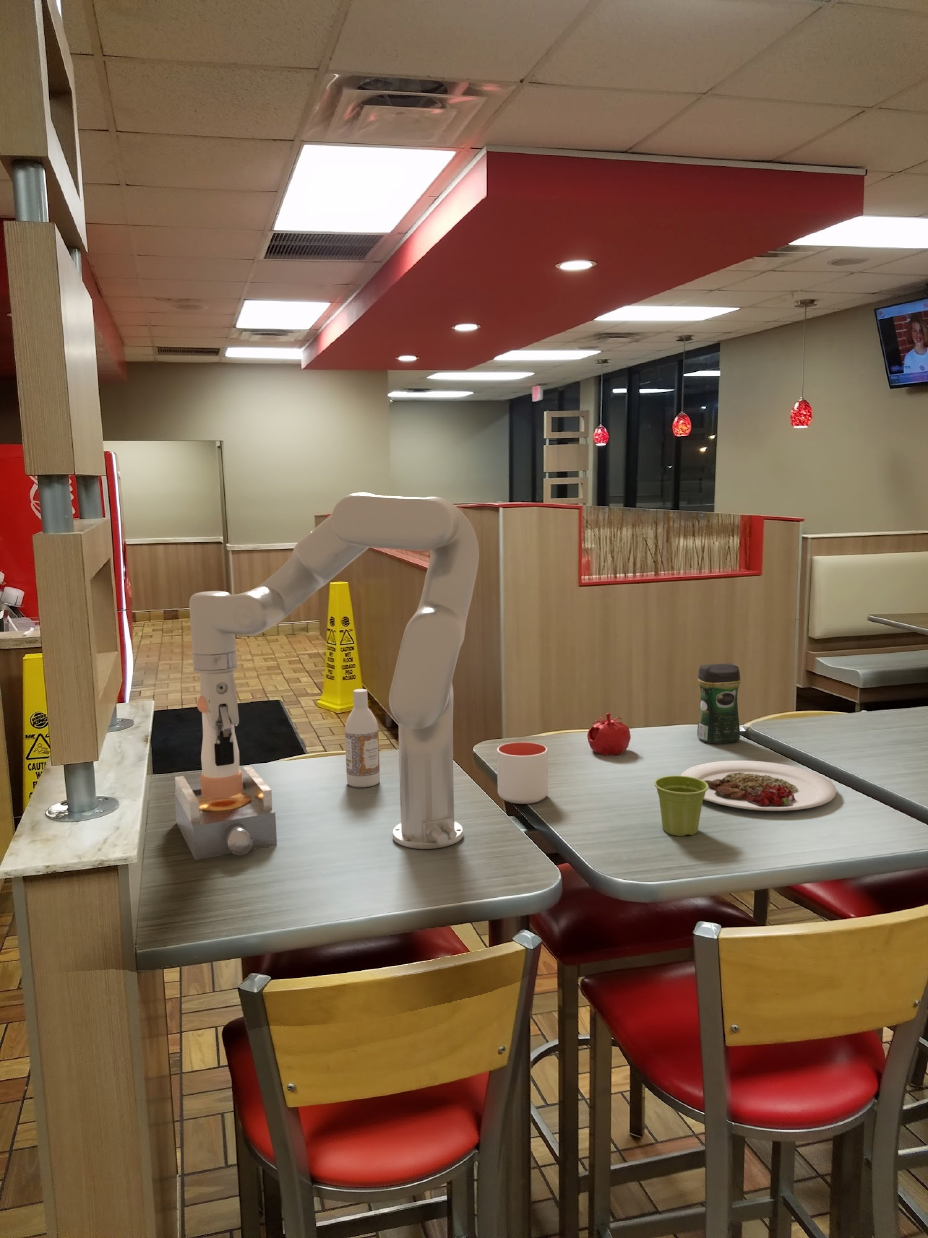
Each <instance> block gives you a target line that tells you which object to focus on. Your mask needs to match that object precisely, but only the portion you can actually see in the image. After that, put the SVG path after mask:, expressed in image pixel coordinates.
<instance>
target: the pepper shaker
mask: <svg viewBox="0 0 928 1238" xmlns="http://www.w3.org/2000/svg"><path fill="white" fill-rule="evenodd" d="M196 707H197V710H198V711H199V712H200V713H201V719H202V720H201V721H202V742H201V743H202V744H201V755H200V761H201V772H202V773H201V774H200V785H201V794H202V795H203V796H204V797H208V798H226V797H231V796H234V795H237V794H239V793H241V792H242V791H243V783H242V779H243V770H241V768H240V750H239V746H238V740H237V736H236V733H235V732H236V731H235V725H233V724H232V723H231V722H230V724H231V731H232V738H233V747H234V763H233V764H229V765H223V766H216V764H215V749H214V744H215V743H216V739H215V732H214V728H212V727H210V726H209V723H208V719H207V715H206V713H207V705H206V701H205V699H204V697H203V696H201V695H200V696H199V697H198V699H197V702H196ZM230 721H231V719H230ZM220 725H222V723H217V726H220ZM220 731H222V730H219V733H220Z"/></svg>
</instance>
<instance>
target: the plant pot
mask: <svg viewBox="0 0 928 1238" xmlns="http://www.w3.org/2000/svg"><path fill="white" fill-rule="evenodd" d="M653 782H654V787H655V788H656V792H657V794H658V799H659V807H660V816H661V825H662V826H661V827H662V830H664V831H665V832H666V833H667V834H669V835H673V836H677V837H683V836H686V835H689V836H692V835H696V834H697V833H698V830H699V824H700V818H701V813H702V812H701V811H702V807H703V801H704V799H703V798H704V796H705V792H706V791H707V790H708V784H707V783H706V782H705V781H703V780H700V779H697V778H694V777H688V776H680V775H668V776H667V775H666V776H662V777H659V778H656V780H654V781H653Z"/></svg>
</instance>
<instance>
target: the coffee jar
mask: <svg viewBox="0 0 928 1238" xmlns="http://www.w3.org/2000/svg"><path fill="white" fill-rule="evenodd" d="M697 677H698V678H697V683H698V685H699V689H700V701H699V702H700V704H699V712H698V713H699V714H698V720H697V732H696V733H697V738H698V739H699V740H700V741H701V742H702V743H708V744H728V743H735V742H738V741H739V740H740V738H741V728H740V719H739V706H738V705H739V704H738V694H739V693H738V692H739V688H740V685H741V672H740V668H739V666H738V665H735V664H733V663H728V662H727V663H714V664H713V663H711V664H703V665H700V666H699V669H698V676H697Z"/></svg>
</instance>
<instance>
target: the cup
mask: <svg viewBox="0 0 928 1238" xmlns="http://www.w3.org/2000/svg"><path fill="white" fill-rule="evenodd" d="M548 752H549V749H548V747H546V746H545V745H543V744H541V743H536V742H531V741H530V742H529V741H528V742H527V741H526V742H525V741H520V742H519V741H517V742H515V741H514V742H508V743H504V744H501V745H500V746H498V747H497V749H496V760H497V761H496V763H497V766H496V767H497V768H496V769H497V776H496V777H497V794H498V796H499V797H500V798H501V799H502V800H504V801H505V802H508V803H512V804H519V805H523V804H524V805H527V804H528V805H530V804H534V803H539V802H540V801H543V800H544V799H545V798H546V797H547V796H548V794H549V775H548V774H549V770H548V769H549V762H548V761H549V757H548V756H549V755H548V754H549V753H548Z"/></svg>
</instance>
